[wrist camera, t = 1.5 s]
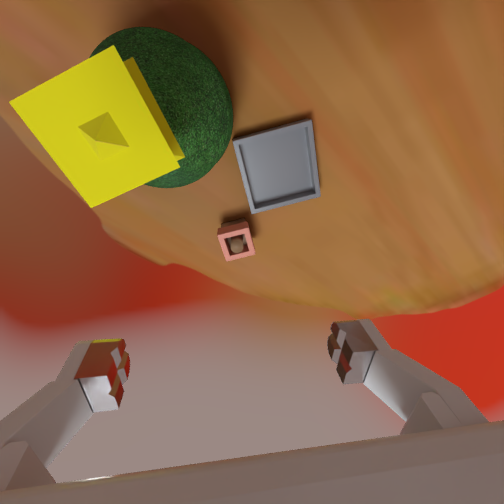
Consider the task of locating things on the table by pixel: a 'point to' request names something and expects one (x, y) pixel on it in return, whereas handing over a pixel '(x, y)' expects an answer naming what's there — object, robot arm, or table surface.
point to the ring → (234, 231)
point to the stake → (236, 237)
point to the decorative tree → (132, 115)
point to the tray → (278, 165)
